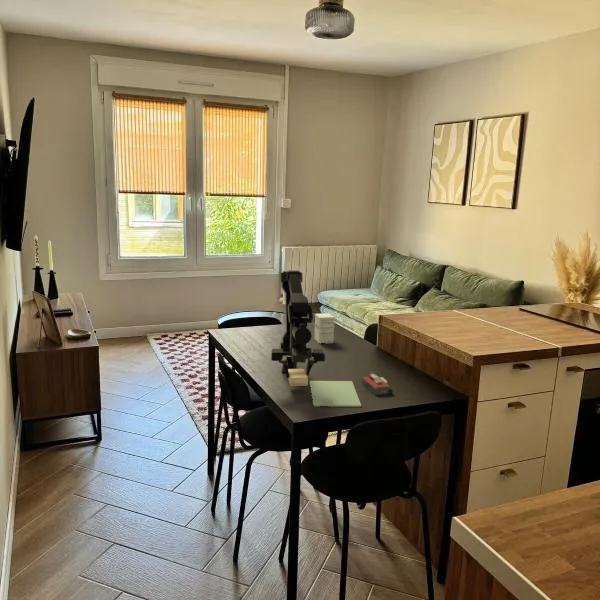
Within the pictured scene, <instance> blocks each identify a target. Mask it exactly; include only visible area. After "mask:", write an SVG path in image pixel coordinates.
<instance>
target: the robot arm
mask: <svg viewBox="0 0 600 600" xmlns="http://www.w3.org/2000/svg"><path fill="white" fill-rule="evenodd" d="M279 283H280V285H281V290H282V291H283V293H284V296H285V297H284V298H285V305H284V307H285V311H284V312H285V313H284V314H285V315H284V316H285V318H284V319H285V321H284V322H285V332H284V333H283V335H282V336H281V342H279V348H272V349H271V352H270V353H271V354H270V355H271V361H273V362H278V364H279V363H280V364H282V366H281V374H285V375H286V377H287V379H288V378H289V372H288V369H299V367H298V363H301V364H305V363H306V362H307V364H306V371H305V372H306V374H307V376H308V377H309V375H310V372H311V369H312V367H313V366H314V365H315V364H318V362H325V361H326V354H325V351H324V349H323V348H320V349H319V348H318V349H317V348H315V349H314V348H313V349H312V347H307V344H308V343H309V342H310V341H311V340H312V332H311V330H310V329H309V327H308V326H309V325H308V324H309V323H311V324H312V323H313V319H314V313H313V307H312V305H311V304H310V303H309V299H308V297H307V296H305V295H304V292H303V287H302V286H303V285H302V283H303V272H301V270H300V271H299V270H294V269H293V270H282V272H280V273H279Z"/></svg>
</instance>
